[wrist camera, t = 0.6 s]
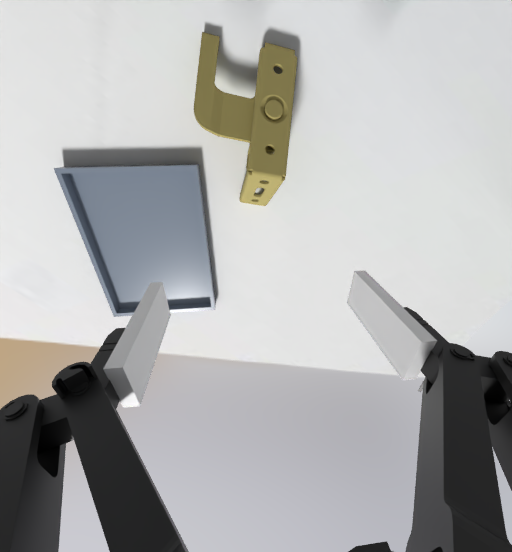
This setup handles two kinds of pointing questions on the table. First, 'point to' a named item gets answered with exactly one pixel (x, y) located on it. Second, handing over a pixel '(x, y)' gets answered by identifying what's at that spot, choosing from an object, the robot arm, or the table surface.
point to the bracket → (251, 115)
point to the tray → (143, 232)
